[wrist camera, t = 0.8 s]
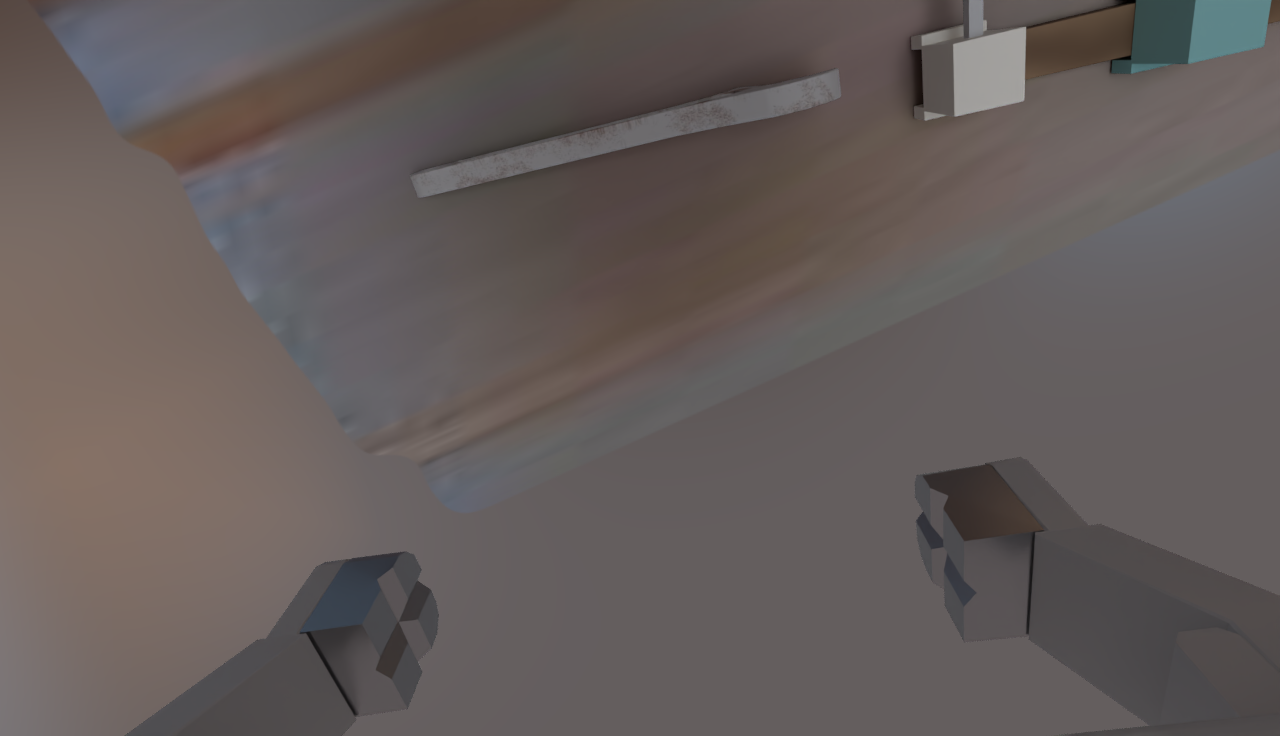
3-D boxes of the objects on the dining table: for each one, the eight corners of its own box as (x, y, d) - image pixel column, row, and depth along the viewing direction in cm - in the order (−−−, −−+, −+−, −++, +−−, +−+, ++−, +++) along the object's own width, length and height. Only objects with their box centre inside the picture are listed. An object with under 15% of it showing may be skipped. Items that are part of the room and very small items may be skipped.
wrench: (434, 163, 51) (827, 63, 44) (443, 186, 51) (830, 91, 44) (384, 183, 43) (843, 68, 36) (394, 209, 44) (846, 101, 37)
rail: (925, 51, 43) (937, 50, 42) (1308, -41, 41) (1338, -46, 39) (927, 98, 45) (938, 99, 43) (1298, 12, 42) (1327, 9, 40)
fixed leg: (907, -46, 41) (951, -65, 35) (972, -63, 40) (1028, -86, 34) (914, 118, 45) (954, 127, 39) (973, 104, 45) (1023, 111, 38)
